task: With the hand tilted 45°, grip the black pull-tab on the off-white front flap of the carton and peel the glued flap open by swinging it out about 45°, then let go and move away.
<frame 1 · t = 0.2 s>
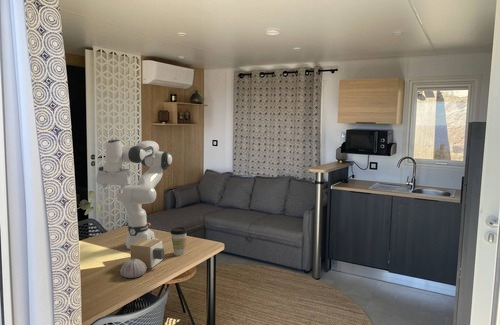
hand: (113, 192, 213), 39 cm above the table, tool pointing down, fingers open, 8 cm apart
sea urchin shell: (133, 274, 196), on the table
flap: (160, 254, 208), point 6 cm above the table, hinge at 0.0°
coffee cup: (179, 253, 227), on the table
carton: (146, 263, 211), on the table
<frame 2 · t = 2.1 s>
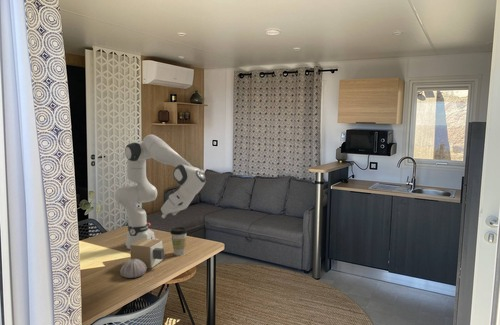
hand: (168, 215, 198), 30 cm above the table, tool tilted 40°, fingers open, 8 cm apart
nothing on the table moved.
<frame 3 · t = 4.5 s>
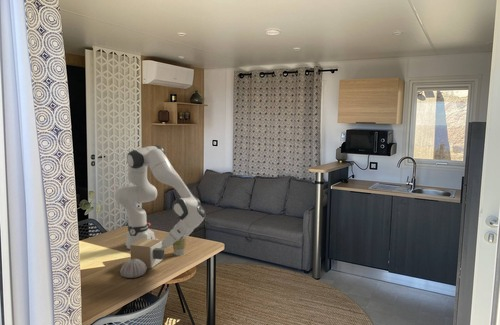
hand: (166, 246, 203), 12 cm above the table, tool tilted 45°, fingers open, 8 cm apart
nothing on the table moved.
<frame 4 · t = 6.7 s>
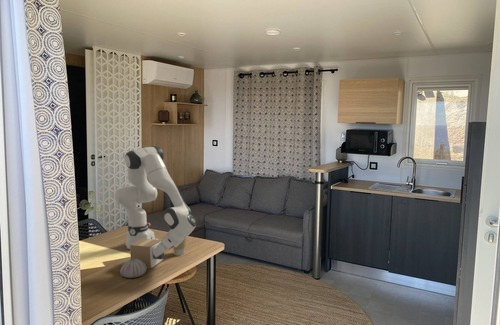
hand: (157, 254, 205), 7 cm above the table, tool tilted 45°, fingers closed on flap, 3 cm apart
flap: (160, 254, 208), point 6 cm above the table, hinge at 0.0°, touching gripper
everything else where it was.
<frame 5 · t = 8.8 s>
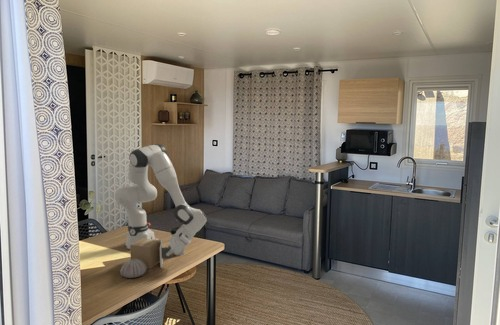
hand: (166, 253, 207), 7 cm above the table, tool tilted 45°, fingers open, 4 cm apart
flap: (166, 253, 209), point 6 cm above the table, hinge at 25.3°, touching gripper
everything else where it was.
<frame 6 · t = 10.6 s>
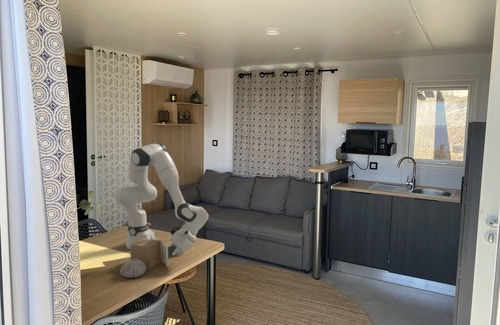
hand: (170, 252, 208), 7 cm above the table, tool tilted 45°, fingers open, 5 cm apart
flap: (169, 252, 211), point 6 cm above the table, hinge at 42.2°
everything else where it was.
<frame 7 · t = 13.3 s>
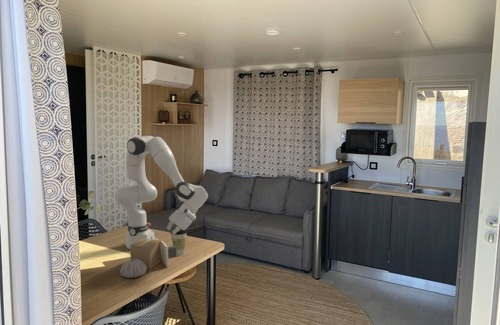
hand: (170, 231, 207), 19 cm above the table, tool tilted 45°, fingers open, 8 cm apart
nothing on the table moved.
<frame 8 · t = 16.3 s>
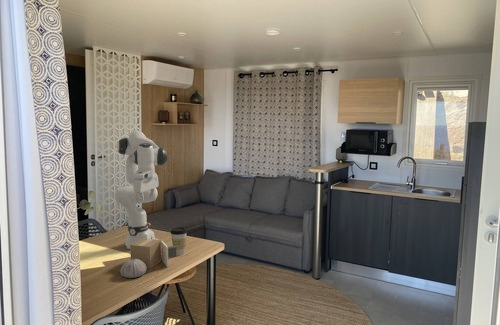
hand: (147, 198, 207), 37 cm above the table, tool pointing down, fingers open, 8 cm apart
nothing on the table moved.
at the end: flap at +42° (first picture: +0°); the gripper is holding nothing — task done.
